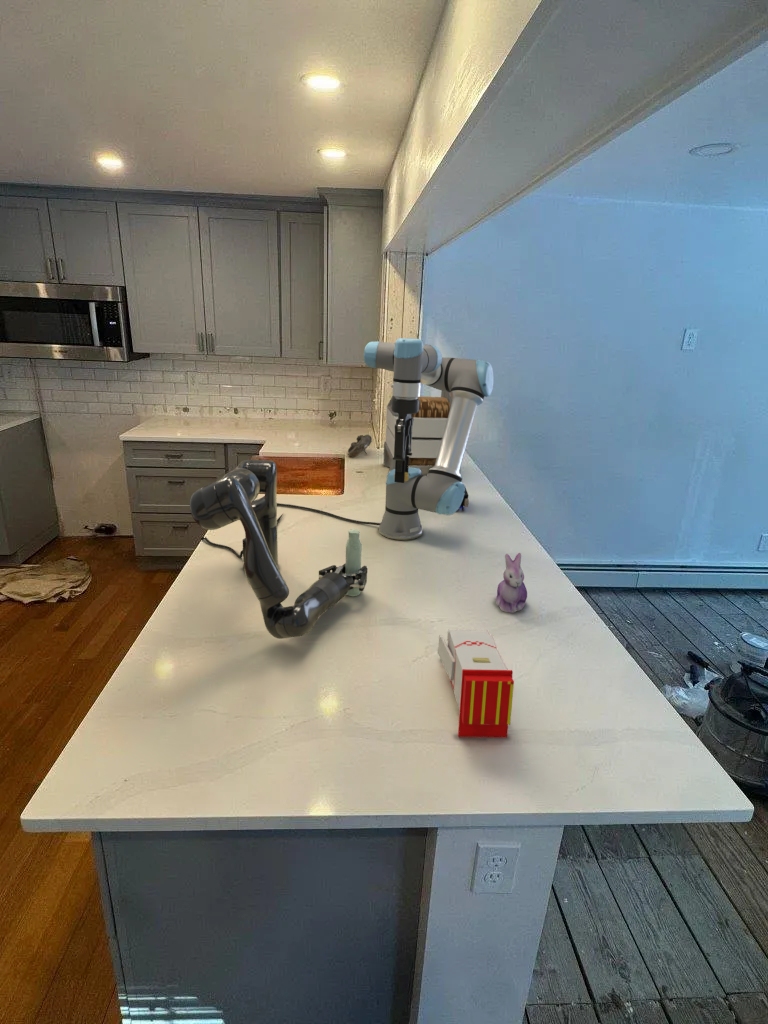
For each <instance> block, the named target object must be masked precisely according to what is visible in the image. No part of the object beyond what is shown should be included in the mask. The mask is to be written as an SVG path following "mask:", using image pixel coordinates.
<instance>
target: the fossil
mask: <svg viewBox="0 0 768 1024" xmlns="http://www.w3.org/2000/svg"><path fill="white" fill-rule="evenodd" d="M372 442H373V438H372V436H371V435H370V434H364V435H363V434H360V435H357V437H356V442H355V441H354V442H351V443H350V447H349V448H348V449H347V450H348V451H347V456H348V458H352V459H353V458H355V457H358V456H359V455H361V454H362V453H363V452H364V453H365V454H366V455H367V454H368V452H366V449H367V448H368V447H370V445H371V443H372Z"/></svg>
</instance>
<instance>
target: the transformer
mask: <svg viewBox="0 0 768 1024" xmlns="http://www.w3.org/2000/svg"><path fill="white" fill-rule="evenodd" d="M440 393H441V394H440V396H420V397H418V399H419V400H420V401H419V412H418V413H415V414H411V418H414V421H413V429H412V443H411V452H410V453H412V456H409V467H410V466H411V467H417V466H418V467H434V466H435V462H436V459H437V455H438V451H439V448H440V444H441V440H442V437H443V433H444V429H445V426H446V422H447V419H448V415H449V411H450V408H451V404H452V398H451V396H450V392H446V391H442V390H441V392H440ZM393 398H394V396H393V395H391V398H390V400H389V402H388V404H387V405H386V413H385V414H386V415H385V423H386V428H385V438H384V442H383V466H384V467H388V468H389V472H390V471H391V470H393V469H395V463H396V460H393V458H394V445H395V424H396V420H397V419H398V416H399V414H398V413H395V412H393V411H392V399H393ZM461 472H462V466H461V467H460V471H459V473H460V475H461Z"/></svg>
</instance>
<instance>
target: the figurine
mask: <svg viewBox="0 0 768 1024" xmlns="http://www.w3.org/2000/svg"><path fill="white" fill-rule="evenodd" d="M511 557H512V556H511V555H509V553H505V555H504V559H505V560H504V561H505V569H504V571H503V580H502V581H500V582H499V583H498V585H497V589H496V597H495V603H496V606H497V607H499V609H500V610H501V611H502V612H505V613H512V614H513V613H517V612H519V611H522V610H523V609H524V608H525V605H526V602H527V599H528V590H527V586H526V584H525V582H524V580H525V574H524V571H523V569H522V567H521V562H522V561H521V560H522V553H521V552H518V553H516V554H515V557H514V559H512V558H511Z"/></svg>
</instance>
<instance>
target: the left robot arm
mask: <svg viewBox="0 0 768 1024" xmlns="http://www.w3.org/2000/svg"><path fill="white" fill-rule="evenodd" d="M277 491H278V467H277V464H276V462H274V460H270V459H269V460H268V459H267V460H266V459H244V460H242V461H240V463H239V464H238V465H237V466H236V467H235V468H234V469H232V470H231V471H228V472H227V473H225V474H224V475H223V476H221V477H219V479H217V480H216V481H213V482H211V483H209V484H207V485H205V486H202V487H199V488H198V489H197V490H195V491H194V492H193V493H192V494H191V497H190V499H189V511H190V515H191V516H192V519H193V520H194V522H195V523H196V524H197V525H198V526H199V527H201V528H202V529H204V530H208V531H215V530H218V529H221V528H223V527H226V526H228V525H231V524H233V523H235V522H237V521H240V522H241V525H242V527H243V531H244V538H243V539H242V548H241V549H242V550H240V552H239V554H238V553H237V551H236V550H235V549H233V548H232V547H230V546H227V545H224V544H218V543H214V542H212V541H210V540H209V538H207V537H206V536H202V537H201V538H200V540H201V541H204V540H205V542H206V543H208V544H209V545H211V546H214V547H218V548H223V549H227V550H229V551H231V552H232V553H233V554H234V555H235V556H236V557H237V558H239V559H241V558H242V559H243V569H244V574H245V578H246V580H247V582H248V585H249V587H250V588H251V590H252V592H253V593H254V595H255V596H256V599H257V600H258V602H259V606H260V610H261V614H262V619H263V623H264V626H265V629H266V631H267V632H268V633H269V634H270V635H271V637H273V638H275V639H278V640H279V639H280V640H282V639H293V638H299V637H303V636H306V635H307V634H309V633H310V632H311V631H312V630H313V628H314V627H315V625H316V623H317V622H318V619H319V618H320V617H321V616H322V615H323V614H324V613H326V612H327V611H329V610H330V609H332V608H333V607H334V606H335V605H337V603H339V602H340V601H341V600H342V599H343V598H344V597H345V596H347V595H346V594H347V592H348V590H351V589H353V588H359V591H360V592H363V591H365V587H366V586H367V583H368V569H369V568H368V566H367V565H363V566H361V569H359V571H356V572H350V573H348V574H345V563H343V564H342V565H338V566H337V565H335V564H333V565H330V566H328V567H325V568H322V569H320V570H318V579H317V580H315V582H313V583H311V585H310V586H309V587H308V588H307V589H306V590H304V591H303V592H302V593H300V594H299V595H298V596H297V598H295V600H294V603H293V605H289V606H283V604H282V603H283V602H285V601H286V599H287V598H288V597H289V596H290V595H289V594H290V589H289V586H288V584H287V582H286V581H285V579H284V577H283V575H282V573H281V571H280V569H279V548H278V547H279V545H278V543H279V541H278V524H277V520H278V508H277V507H278V505H277V503H278V501H277V498H278V497H277V494H278V493H277ZM259 494H264V495H263V496H262V497H260V498H258V496H259ZM257 498H258V499H257ZM204 537H205V538H204ZM357 575H358V578H357Z"/></svg>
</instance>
